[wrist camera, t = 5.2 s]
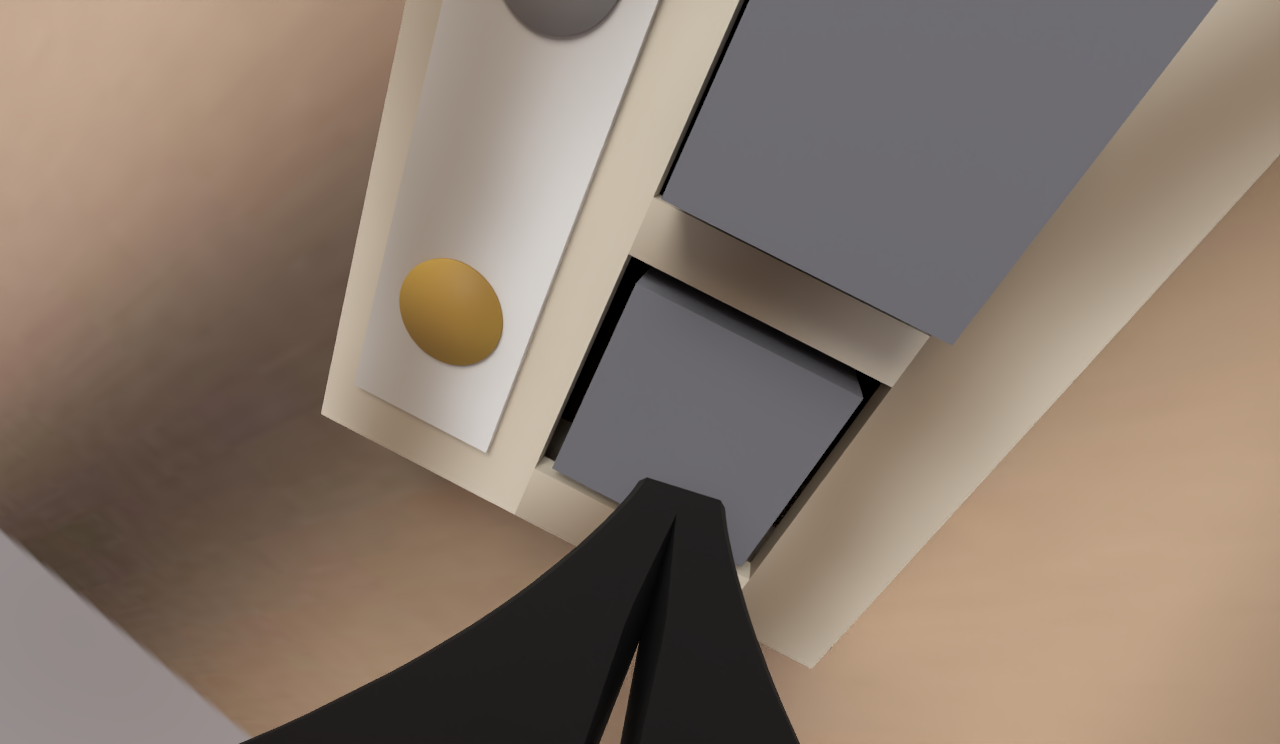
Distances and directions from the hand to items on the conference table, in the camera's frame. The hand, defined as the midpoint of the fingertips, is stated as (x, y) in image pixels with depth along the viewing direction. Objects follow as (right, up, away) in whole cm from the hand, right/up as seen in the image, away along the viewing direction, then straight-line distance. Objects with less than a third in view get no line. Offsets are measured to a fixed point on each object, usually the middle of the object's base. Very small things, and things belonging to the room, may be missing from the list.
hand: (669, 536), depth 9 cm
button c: (+1, +3, +6) cm, 7 cm away
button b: (+4, +8, +2) cm, 9 cm away
